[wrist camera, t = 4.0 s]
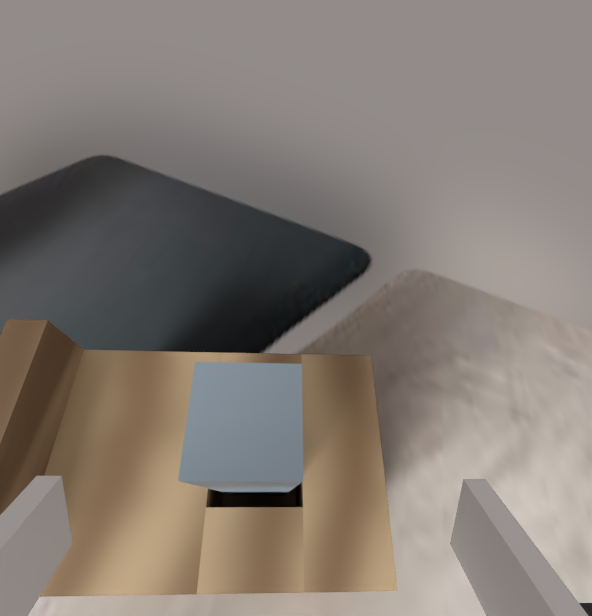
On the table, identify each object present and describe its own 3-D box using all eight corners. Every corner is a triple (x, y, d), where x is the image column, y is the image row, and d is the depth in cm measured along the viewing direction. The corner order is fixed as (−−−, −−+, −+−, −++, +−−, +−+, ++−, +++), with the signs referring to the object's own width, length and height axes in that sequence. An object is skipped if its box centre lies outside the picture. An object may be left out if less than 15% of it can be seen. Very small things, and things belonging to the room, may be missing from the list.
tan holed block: (-21, 592, 17) (-129, 624, 12) (60, 356, 23) (7, 319, 18) (390, 585, 18) (430, 613, 13) (366, 362, 24) (389, 328, 19)
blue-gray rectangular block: (232, 494, 24) (177, 481, 10) (236, 438, 26) (195, 361, 12) (285, 494, 24) (303, 481, 10) (285, 439, 26) (301, 363, 12)
